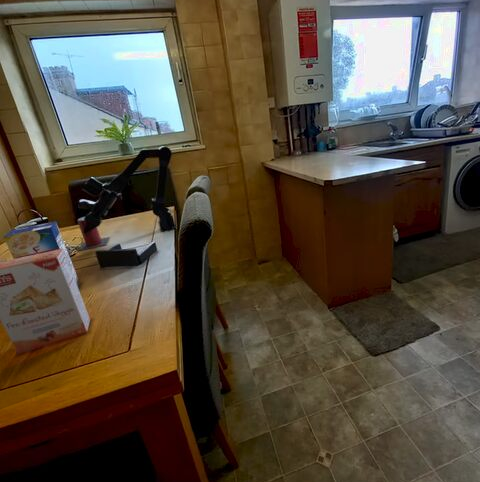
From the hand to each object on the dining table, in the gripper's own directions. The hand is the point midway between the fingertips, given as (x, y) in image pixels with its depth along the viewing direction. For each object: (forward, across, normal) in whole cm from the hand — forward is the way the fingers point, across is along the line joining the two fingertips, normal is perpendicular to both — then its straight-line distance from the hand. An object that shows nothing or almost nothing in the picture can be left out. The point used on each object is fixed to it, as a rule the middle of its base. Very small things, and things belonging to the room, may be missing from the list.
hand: (85, 230), depth 125 cm
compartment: (-9, +30, +18) cm, 36 cm away
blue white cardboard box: (+6, +45, +4) cm, 45 cm away
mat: (+4, 0, +6) cm, 7 cm away
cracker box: (+1, +69, +9) cm, 70 cm away
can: (+4, 0, +6) cm, 7 cm away
